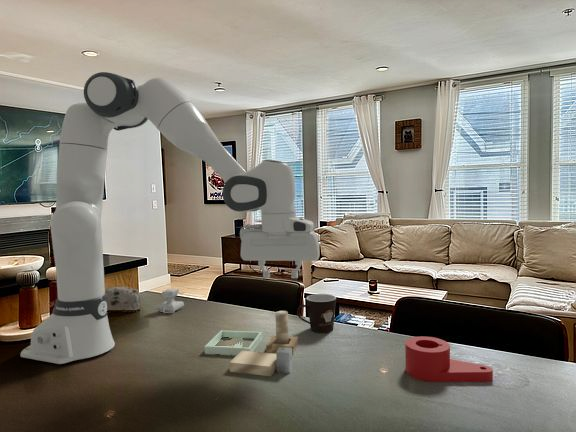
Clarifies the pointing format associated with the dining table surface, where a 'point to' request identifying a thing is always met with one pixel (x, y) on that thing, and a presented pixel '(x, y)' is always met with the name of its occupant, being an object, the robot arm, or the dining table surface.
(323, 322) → the coffee mug
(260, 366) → the tan rectangular slab
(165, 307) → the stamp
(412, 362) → the lever
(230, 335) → the tray
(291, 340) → the socket block
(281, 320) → the dowel
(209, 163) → the robot arm
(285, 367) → the gray rectangular block
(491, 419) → the dining table surface
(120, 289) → the stone
